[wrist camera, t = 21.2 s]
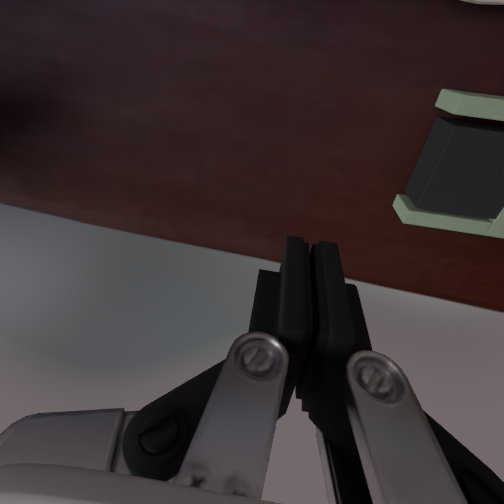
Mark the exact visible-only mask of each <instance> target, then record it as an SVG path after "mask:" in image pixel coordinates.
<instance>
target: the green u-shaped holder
mask: <svg viewBox="0 0 504 504" xmlns="http://www.w3.org/2000/svg"><path fill="white" fill-rule="evenodd" d="M435 106H436V107H438V108H440V109H443V110H445V111H447V112H449V113H452V114H454V115H462V116H469V117H477V118H484V119H492V120H499V121H504V97H503V96H496V95H488V94H481V93H473V92H465V91H458V90H450V89H442V90H441V93H440V95H439V97H438V100H437V102H436V104H435ZM393 207H394V209H395V211H396V212H397V214H398V216H399V217H400V219H401V221H402V222H403V223H406V224H413V225H419V226H426V227H433V228H439V229H446V230H452V231H459V232H465V233H472V234H479V235H486V236H492V237H498V238H504V207H503V209H502V210H501V212H500V213H499V215H498V216H497V218H496V219H490V218H483V217H476V216H470V215H463V214H456V213H449V212H443V211H436V210H429V209H422V208H417V207H416V206H415V205H414V204H413V202H412V201H411V199H410V198H409V197H408V195H401V194H397V196H396V198H395V201H394V203H393Z"/></svg>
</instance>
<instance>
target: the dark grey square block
mask: <svg viewBox="0 0 504 504" xmlns="http://www.w3.org/2000/svg"><path fill="white" fill-rule="evenodd" d="M405 193H406V194H407V195H408V197H409V198H410V199H411V201H412V202H413V204H414V205H415V206H416V207H417V208H422V209H429V210H436V211H443V212H449V213H456V214H463V215H470V216H476V217H483V218H490V219H496V218H497V216H498V215H499V213H500V212H501V210H502V209H503V207H504V126H503V125H496V124H488V123H481V122H474V121H466V120H459V119H451V118H444V117H437V118H436V120H435V122H434V124H433V127H432V129H431V131H430V134H429V136H428V138H427V140H426V143H425V145H424V147H423V150H422V152H421V154H420V157H419V159H418V161H417V163H416V166H415V168H414V170H413V173H412V175H411V177H410V179H409V182H408V184H407V186H406V189H405Z"/></svg>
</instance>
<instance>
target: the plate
mask: <svg viewBox="0 0 504 504" xmlns="http://www.w3.org/2000/svg"><path fill="white" fill-rule="evenodd" d="M461 1H466V2H471V3H476V4H492V5H504V0H461Z"/></svg>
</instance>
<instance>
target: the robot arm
mask: <svg viewBox="0 0 504 504" xmlns="http://www.w3.org/2000/svg"><path fill="white" fill-rule="evenodd" d="M295 385H296V391H295V392H296V398H297V399H302V411H305V412H309V419H310V420H311V421H312V422H313V423H314V424H315V426H316V437H317V442H318V448H319V453H320V459H321V464H322V470H323V475H324V481H325V487H326V491H327V498H328V503H329V504H504V482H503V481H502V480H501V479H500V478H499V477H498V476H497V475H496V474H495V473H494V472H493V471H492V470H491V469H490V468H489V467H487V466H486V465H485V464H484V463H483V462H482V461H481V460H479V459H478V458H477V457H476V456H475V455H474V454H473V453H471V452H470V451H469V450H468V449H467V448H466V447H465V446H463V445H462V444H461V443H460V442H459V441H458V440H457V439H455V438H454V437H453V436H452V435H451V434H450V433H449V432H447V431H446V430H445V429H444V428H443V427H442V426H441V425H439V424H438V423H437V422H436V421H435V420H433V418H431V417H430V416H429V415H428V414H427V413H426V412H425V411H423V410H422V408H421V405H420V403H419V401H418V399H417V397H416V395H415V393H414V391H413V389H412V387H411V385H410V383H409V381H408V378H407V377H406V375H405V374H404V372H403V371H402V369H401V368H400V367H399V366H398V365H397V364H396V363H395V362H394V361H393V360H391V359H390V358H388V357H387V356H385V355H383V354H380V353H378V352H375V351H372V347H371V342H370V338H369V334H368V330H367V326H366V322H365V318H364V314H363V310H362V306H361V302H360V298H359V294H358V290H357V287H356V286H355V285H353V284H347V283H345V280H344V275H343V270H342V265H341V260H340V255H339V250H338V245H337V243H332V242H326V241H319V244H313V245H312V248H311V252H310V256H309V243H305V242H303V238H300V237H294V236H288V235H287V237H286V241H285V246H284V251H283V256H282V261H281V266H280V271H279V272H273V271H267V270H261V269H260V270H259V274H258V280H257V286H256V292H255V297H254V303H253V309H252V315H251V320H250V326H249V332H248V333H246V334H243V335H241V336H240V337H238V338H237V339H236V340H235V341H234V343H233V344H232V346H231V348H230V350H229V352H228V355H227V357H226V359H225V360H223V361H221V362H220V363H218V364H216V365H214V366H213V367H211V368H209V369H208V370H206V371H204V372H203V373H201V374H199V375H197V376H196V377H194V378H192V379H190V380H189V381H187V382H185V383H184V384H182V385H180V386H179V387H177V388H175V389H174V390H172V391H170V392H168V393H167V394H165V395H163V396H161V397H160V398H158V399H157V400H155V401H153V402H151V403H150V404H148V405H146V406H145V407H143V408H142V409H141V410H140V411H127V412H125V411H124V408H116V409H99V410H85V411H84V410H83V411H67V412H52V413H38V414H33V415H29V416H25V417H23V418H22V419H20V420H18V421H16V422H14V423H13V424H11V425H10V426H9V427H8V428H7V429H6V430H4V431H3V432H2V433H1V434H0V504H279V503H274V502H269V501H264V500H261V496H262V491H263V486H264V481H265V476H266V472H267V466H268V462H269V457H270V452H271V447H272V442H273V437H274V433H275V428H276V423H277V420H278V419H279V418H280V417H282V416H283V415H284V414H285V413H286V411H287V408H288V405H289V402H290V399H291V396H292V394H293V390H294V388H295Z"/></svg>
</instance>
